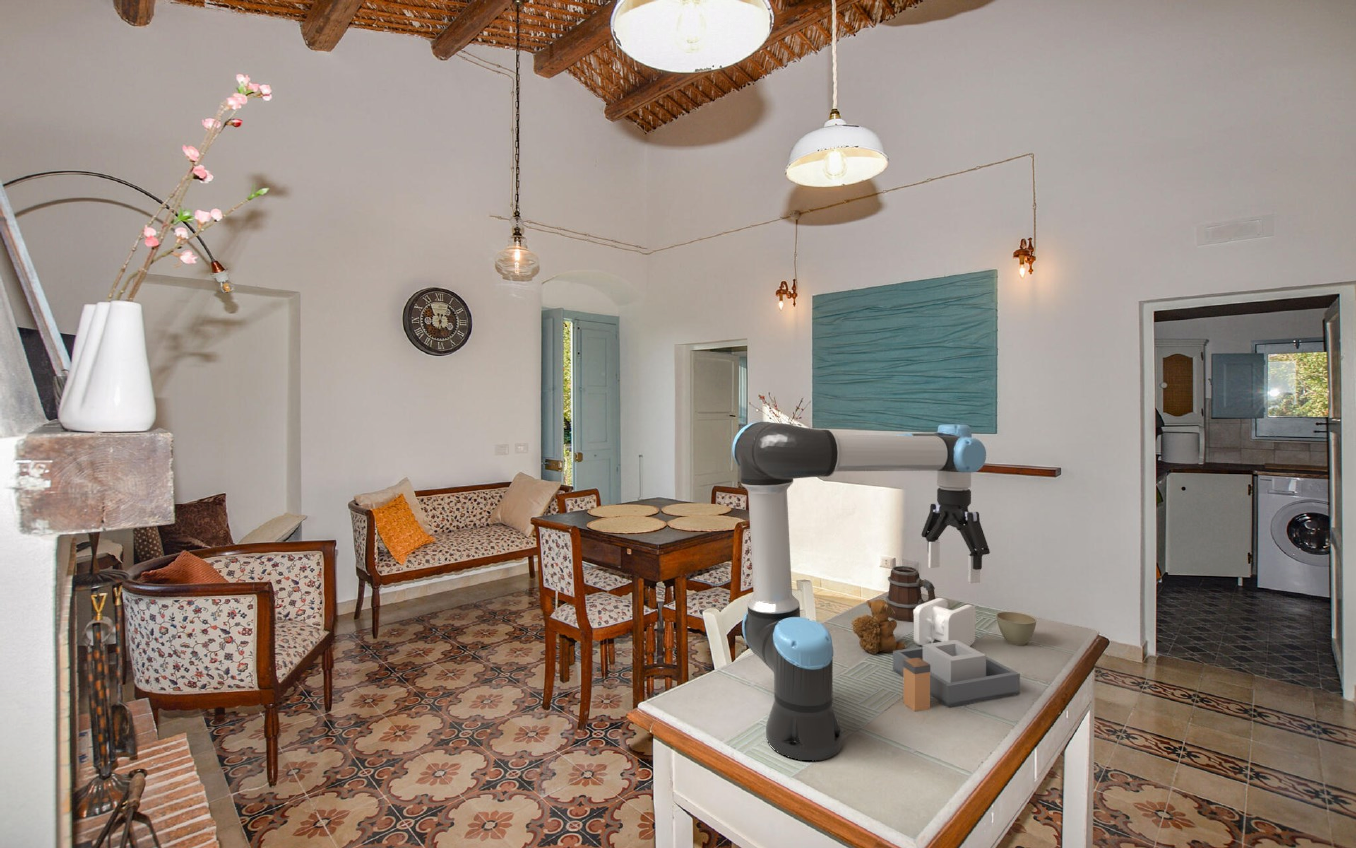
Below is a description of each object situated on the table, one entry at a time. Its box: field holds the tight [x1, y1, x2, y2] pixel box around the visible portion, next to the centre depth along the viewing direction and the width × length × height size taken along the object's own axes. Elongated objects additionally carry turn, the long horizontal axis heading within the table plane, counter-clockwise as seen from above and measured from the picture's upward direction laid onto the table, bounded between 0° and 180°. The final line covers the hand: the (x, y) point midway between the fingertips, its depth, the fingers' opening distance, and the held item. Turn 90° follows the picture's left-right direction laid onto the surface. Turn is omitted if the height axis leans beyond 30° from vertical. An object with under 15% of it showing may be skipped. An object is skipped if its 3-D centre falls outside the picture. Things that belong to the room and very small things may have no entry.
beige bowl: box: [995, 611, 1037, 646], centre depth 173 cm, size 10×10×7 cm
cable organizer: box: [913, 597, 976, 647], centre depth 171 cm, size 15×11×12 cm
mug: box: [885, 565, 936, 623], centre depth 193 cm, size 16×12×15 cm
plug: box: [902, 657, 931, 712], centre depth 138 cm, size 4×4×10 cm
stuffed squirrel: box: [850, 599, 906, 655], centre depth 169 cm, size 10×14×13 cm
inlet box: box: [892, 640, 1021, 709], centre depth 149 cm, size 20×20×8 cm
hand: (953, 574), depth 149 cm, fingers open, 13 cm apart
